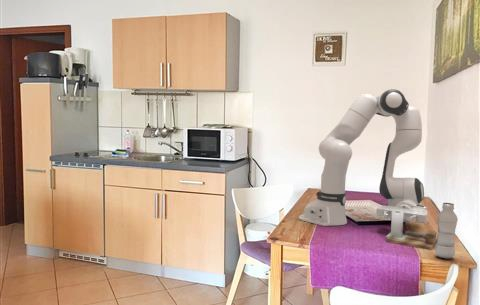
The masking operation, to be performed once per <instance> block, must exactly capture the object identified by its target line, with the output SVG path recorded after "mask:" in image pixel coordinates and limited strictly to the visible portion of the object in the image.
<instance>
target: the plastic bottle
mask: <svg viewBox="0 0 480 305" xmlns="http://www.w3.org/2000/svg"><path fill="white" fill-rule="evenodd" d="M441 208H442V210H441V211H440V212H439V213H438V215H437V236H436V239H437V243H436V245H435V246H434V254H435V256H436V257H438V258H441V259H446V260H447V259H448V260H450V259H453V258H454V257H455V254H456V248H455V247H456V246H455V236H456V235H455V233H456V229H457V225H458V220H459V219H458V216H457V214H456V212H454V210H455V204H454V203H452V202H442V207H441Z"/></svg>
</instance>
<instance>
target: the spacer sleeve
mask: <svg viewBox="0 0 480 305" xmlns="http://www.w3.org/2000/svg"><path fill="white" fill-rule="evenodd" d="M403 214H404V213H403V212H401V211H392V218H390V219H391V223H390V233H391V236H392V237H396V238H401V237H402V233H403V230H404V229H403V228H404V222H403Z"/></svg>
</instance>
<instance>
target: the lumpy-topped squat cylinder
mask: <svg viewBox="0 0 480 305" xmlns="http://www.w3.org/2000/svg"><path fill="white" fill-rule="evenodd" d="M401 201H403V199H387V206H392V207H395V206H396V205H397V204H398V203H400V202H401Z"/></svg>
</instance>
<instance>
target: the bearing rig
mask: <svg viewBox="0 0 480 305" xmlns="http://www.w3.org/2000/svg"><path fill="white" fill-rule="evenodd" d="M385 239H386V240H385V241H386V243H391V244H397V245H402V246H406V247H407V246H408V247H413V248H418V249H424V250H430V251H433V249H434V248H435V246H436V243H437V231H434V230H429V229H428V230H427V232H423V233H422V232H417V231H416V232H415V231H410V230H405V233H403V232H402V237H401V238H396V237H392V236H391V232H389V233H388V234H387V235H386V236H385Z"/></svg>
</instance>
